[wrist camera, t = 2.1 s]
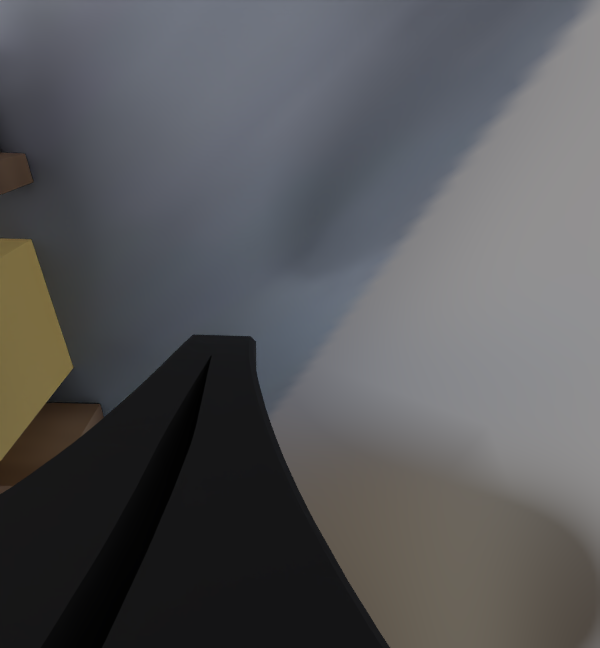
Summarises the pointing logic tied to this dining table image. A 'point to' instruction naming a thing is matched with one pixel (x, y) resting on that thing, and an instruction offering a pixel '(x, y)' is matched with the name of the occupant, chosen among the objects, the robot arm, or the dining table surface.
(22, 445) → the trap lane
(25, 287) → the ochre block
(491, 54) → the dining table surface
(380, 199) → the dining table surface
